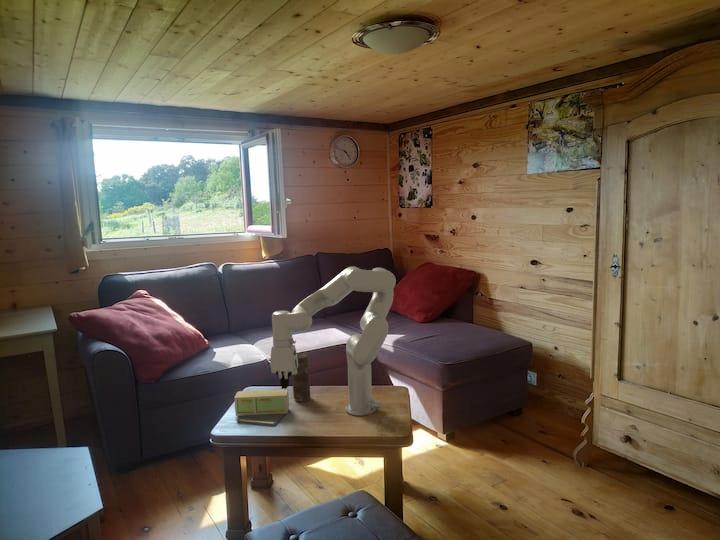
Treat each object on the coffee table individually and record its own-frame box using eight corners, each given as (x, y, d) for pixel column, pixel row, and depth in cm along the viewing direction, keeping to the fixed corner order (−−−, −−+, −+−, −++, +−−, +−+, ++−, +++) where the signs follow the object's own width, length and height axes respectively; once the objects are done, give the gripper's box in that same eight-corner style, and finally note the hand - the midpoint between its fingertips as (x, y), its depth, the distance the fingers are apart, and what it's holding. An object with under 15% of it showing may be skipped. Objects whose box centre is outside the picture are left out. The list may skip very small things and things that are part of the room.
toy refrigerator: (287, 414, 198) (234, 416, 197) (289, 407, 206) (238, 408, 205) (286, 396, 197) (233, 397, 196) (288, 389, 204) (237, 390, 203)
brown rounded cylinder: (290, 401, 213) (288, 357, 210) (297, 395, 220) (295, 352, 217) (306, 403, 211) (304, 358, 208) (313, 396, 218) (311, 353, 215)
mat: (288, 411, 203) (288, 409, 203) (274, 426, 190) (274, 424, 190) (253, 408, 207) (252, 406, 207) (237, 422, 194) (236, 420, 193)
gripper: (304, 340, 194) (306, 385, 196) (269, 339, 197) (271, 382, 200) (297, 346, 186) (299, 392, 189) (261, 344, 190) (263, 389, 192)
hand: (285, 387), depth 194 cm, fingers closed
